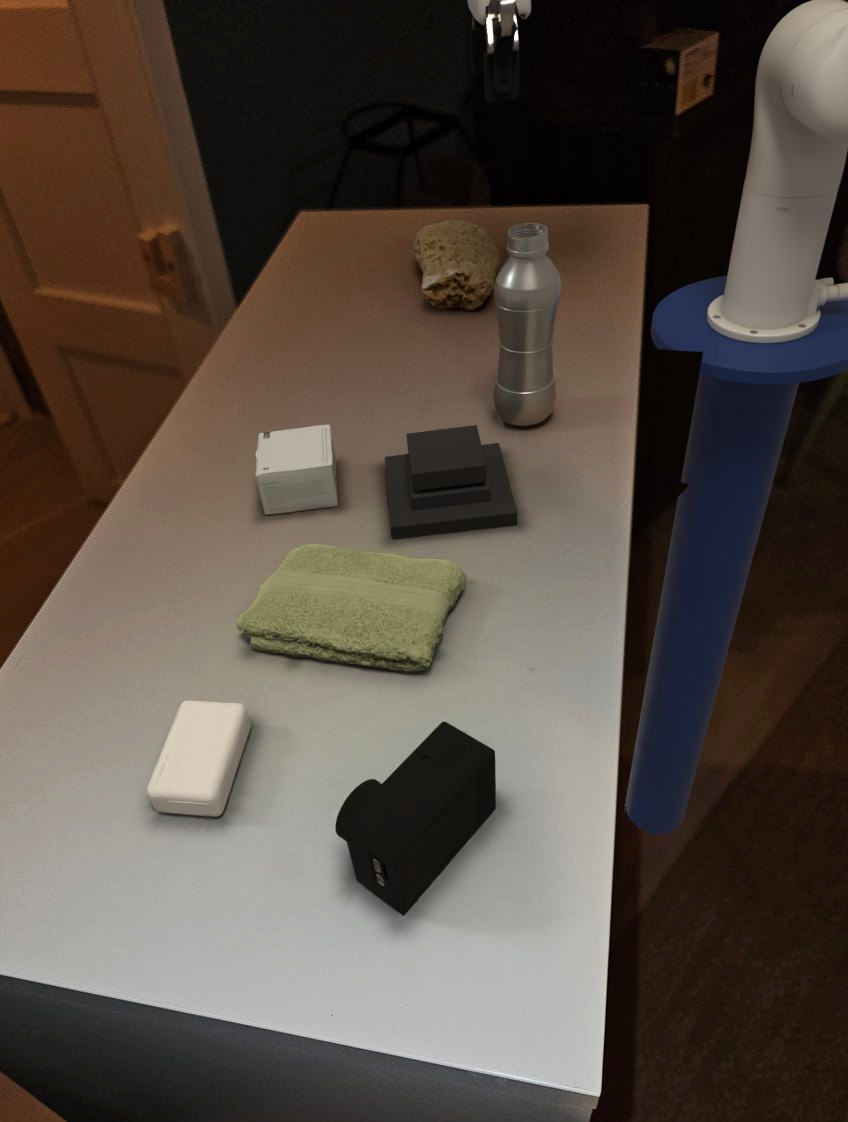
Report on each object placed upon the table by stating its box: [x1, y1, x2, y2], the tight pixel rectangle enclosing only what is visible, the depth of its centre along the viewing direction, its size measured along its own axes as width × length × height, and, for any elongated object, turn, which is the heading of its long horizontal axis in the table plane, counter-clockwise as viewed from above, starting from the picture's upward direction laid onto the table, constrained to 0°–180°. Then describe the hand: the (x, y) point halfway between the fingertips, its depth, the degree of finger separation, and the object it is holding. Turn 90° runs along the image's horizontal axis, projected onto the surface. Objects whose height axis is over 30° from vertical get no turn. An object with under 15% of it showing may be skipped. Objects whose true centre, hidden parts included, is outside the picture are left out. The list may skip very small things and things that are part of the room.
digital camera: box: [335, 721, 497, 917], centre depth 57 cm, size 10×5×7 cm, turn 139°
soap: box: [146, 700, 252, 818], centre depth 65 cm, size 9×6×3 cm, turn 171°
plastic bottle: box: [492, 222, 563, 427], centre depth 88 cm, size 6×7×20 cm
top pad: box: [406, 424, 487, 491], centre depth 84 cm, size 7×7×4 cm
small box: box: [254, 424, 339, 516], centre depth 89 cm, size 8×8×5 cm
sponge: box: [412, 218, 501, 311], centre depth 118 cm, size 13×8×20 cm
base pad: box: [384, 442, 518, 540], centre depth 86 cm, size 12×12×3 cm
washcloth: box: [235, 543, 467, 673], centre depth 75 cm, size 13×18×3 cm
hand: (494, 87), depth 86 cm, fingers open, 9 cm apart
